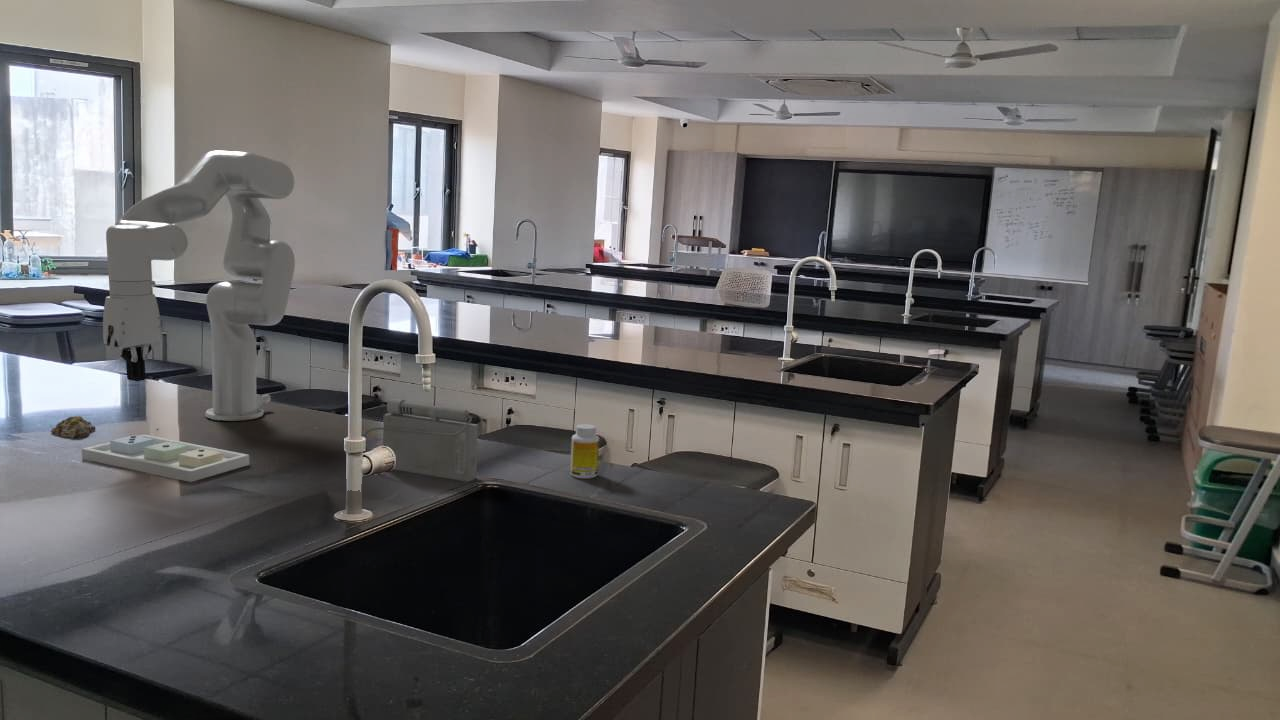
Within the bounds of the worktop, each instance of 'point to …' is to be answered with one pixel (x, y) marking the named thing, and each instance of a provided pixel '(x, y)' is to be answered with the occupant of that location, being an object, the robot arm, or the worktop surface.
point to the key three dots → (130, 444)
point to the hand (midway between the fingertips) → (136, 379)
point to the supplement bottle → (584, 452)
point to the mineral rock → (73, 428)
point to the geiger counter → (430, 439)
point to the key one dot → (164, 451)
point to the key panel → (168, 467)
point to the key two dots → (200, 457)
